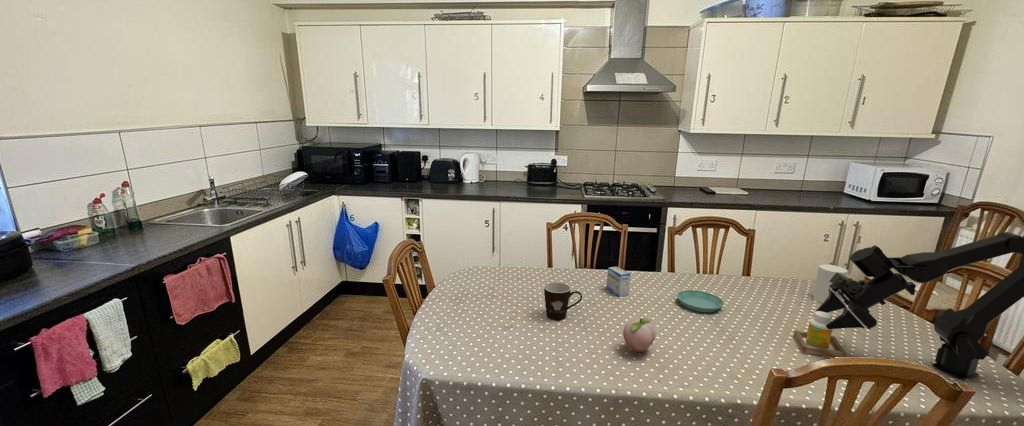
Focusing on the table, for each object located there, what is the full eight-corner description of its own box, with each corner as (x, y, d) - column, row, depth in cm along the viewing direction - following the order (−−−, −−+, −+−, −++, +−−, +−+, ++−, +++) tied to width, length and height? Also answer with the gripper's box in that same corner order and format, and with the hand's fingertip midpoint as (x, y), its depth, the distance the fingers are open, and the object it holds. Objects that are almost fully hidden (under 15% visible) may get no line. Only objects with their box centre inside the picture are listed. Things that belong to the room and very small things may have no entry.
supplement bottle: (804, 346, 120) (810, 314, 118) (806, 338, 124) (812, 308, 122) (828, 352, 117) (834, 320, 114) (829, 344, 121) (835, 313, 118)
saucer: (732, 311, 143) (733, 303, 142) (700, 319, 137) (701, 311, 136) (697, 294, 156) (698, 287, 155) (667, 300, 150) (667, 293, 149)
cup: (845, 305, 147) (852, 273, 144) (819, 303, 149) (825, 271, 146) (833, 296, 155) (839, 265, 152) (808, 294, 157) (814, 263, 154)
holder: (833, 342, 123) (834, 336, 123) (845, 360, 114) (847, 354, 114) (793, 336, 127) (794, 329, 126) (802, 353, 117) (803, 346, 117)
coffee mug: (538, 318, 135) (539, 289, 133) (549, 308, 143) (550, 280, 141) (573, 327, 130) (574, 297, 128) (582, 315, 138) (583, 287, 135)
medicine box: (605, 289, 159) (607, 267, 157) (615, 287, 161) (617, 265, 159) (619, 297, 152) (621, 274, 150) (629, 295, 154) (631, 272, 152)
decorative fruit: (630, 339, 124) (632, 307, 121) (657, 349, 119) (661, 316, 116) (615, 352, 117) (618, 319, 114) (644, 363, 112) (647, 329, 109)
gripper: (843, 255, 121) (792, 285, 128) (870, 278, 104) (810, 312, 111) (871, 285, 120) (819, 314, 127) (903, 313, 103) (841, 345, 110)
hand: (821, 320), depth 118 cm, fingers open, 9 cm apart
